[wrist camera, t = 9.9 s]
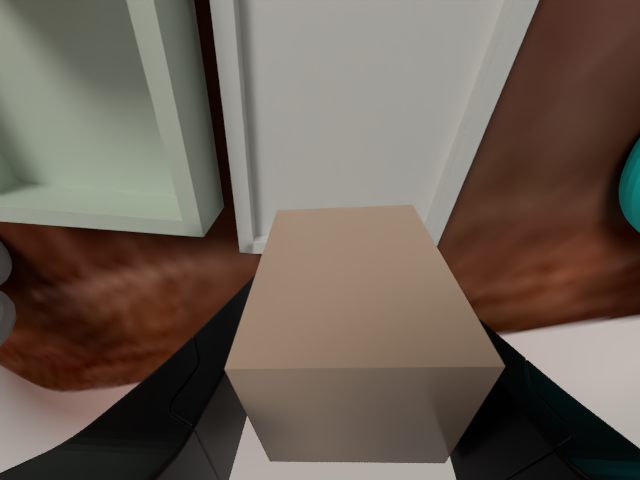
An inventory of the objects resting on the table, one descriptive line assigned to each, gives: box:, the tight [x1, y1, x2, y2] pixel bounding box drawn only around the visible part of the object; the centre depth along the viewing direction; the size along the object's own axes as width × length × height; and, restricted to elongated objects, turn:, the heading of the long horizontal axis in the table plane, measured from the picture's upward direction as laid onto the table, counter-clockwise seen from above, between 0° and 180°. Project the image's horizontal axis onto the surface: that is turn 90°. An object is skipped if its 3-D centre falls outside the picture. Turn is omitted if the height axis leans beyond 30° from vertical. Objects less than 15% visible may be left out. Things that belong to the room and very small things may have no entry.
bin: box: [0, 0, 224, 237], centre depth 9 cm, size 11×16×3 cm
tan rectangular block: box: [225, 205, 505, 463], centre depth 8 cm, size 4×4×6 cm
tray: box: [210, 0, 539, 254], centre depth 11 cm, size 11×16×1 cm
